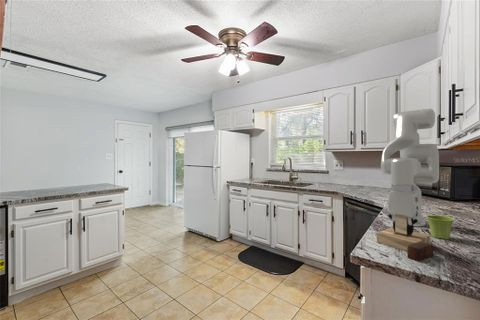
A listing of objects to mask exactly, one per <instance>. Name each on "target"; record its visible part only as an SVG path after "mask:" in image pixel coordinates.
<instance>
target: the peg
mask: <svg viewBox="0 0 480 320" xmlns="http://www.w3.org/2000/svg"><path fill="white" fill-rule="evenodd" d="M407 225H408V220H407V217H406V215H399V214H395V234H396V235H400V236H405V237H409V236H411V235H408V234H407Z"/></svg>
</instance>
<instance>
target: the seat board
mask: <svg viewBox="0 0 480 320" xmlns="http://www.w3.org/2000/svg"><path fill="white" fill-rule="evenodd" d="M419 241H422V242H426V243H429V244H431V243H432V242H431V241H432V240H431V234H430V235H429V234H427V233H426V234H425V233H421V232H418V231H417V232H416V231H413V233H412V234H411V236H409V237H405V236H400V235H396V234H395V232H394V229H393V226H391V227H388V228H386V229H383V230H380V231H378V232H376V243H377V244H381V245H384V246H387V247H393V248H396V249H399V250H402V251H406V252H407V247H408V245H411V244H414V243H417V242H419ZM431 245H432V244H431Z"/></svg>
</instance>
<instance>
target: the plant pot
mask: <svg viewBox="0 0 480 320" xmlns="http://www.w3.org/2000/svg"><path fill="white" fill-rule="evenodd" d="M426 219H427V221H428V226H429V230H430V236H431V237H433V238H434V239H442V240H450V238H451V231H452V225H453V223H454V221H455V219H454V218H453V217H449V216H444V215H436V214H435V215H434V214H431V215H429V214H428V215H426Z"/></svg>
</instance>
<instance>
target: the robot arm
mask: <svg viewBox="0 0 480 320" xmlns="http://www.w3.org/2000/svg"><path fill="white" fill-rule="evenodd" d="M392 123H393V126H394V128H395V129H394V139H393V140H392V141H390V142H389V143H388V144H387V145H386V146H385V147H384V148H383V151H382V152H381V153H382V154H381V160H380V170H381V172H382V173H383V174H385V175H386V176H387V175H388V176H389V175H390V177H391V180H390V181H391V183H390V184H391V185H390V186H391V190H389V194H388V197H387V207H386V209H384V211H383V214H384V215H386V216H387V217H388V218H389V219H390V220H391V221H390V222H392V227H393V229H394V232H395V214H399V215H406V217H407V220H408V225H407V234H408V235H411V234H412V233H413V232H414V227H425V226H426V225H427V224H426V222H425V221H423V220H425V218H424V215H423V214H422V210H423V209H422V190H421V189H420V186H419V187H418V185H416V184H437V182H439V180H440V153H439V149H438V146H437V145H436V144H433V143H420V134H419V133H418V130H425V129H426V130H427V129H432V128H433V127H434V125H435V123H436V112H435V111H434V109H432V108H425V109H424V108H423V109H415V110H408V111H405V110H404V111H402V112H401V111H400V112H397V113H395V114H394V115H393V116H392ZM397 152H399V154H400V155H399V157H391V156H392V155H393V154H395V153H397ZM422 163H426V164H422Z"/></svg>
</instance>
